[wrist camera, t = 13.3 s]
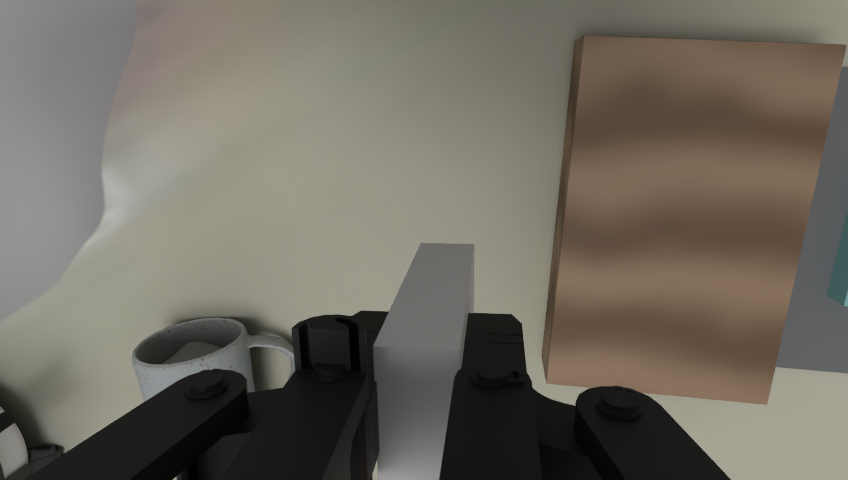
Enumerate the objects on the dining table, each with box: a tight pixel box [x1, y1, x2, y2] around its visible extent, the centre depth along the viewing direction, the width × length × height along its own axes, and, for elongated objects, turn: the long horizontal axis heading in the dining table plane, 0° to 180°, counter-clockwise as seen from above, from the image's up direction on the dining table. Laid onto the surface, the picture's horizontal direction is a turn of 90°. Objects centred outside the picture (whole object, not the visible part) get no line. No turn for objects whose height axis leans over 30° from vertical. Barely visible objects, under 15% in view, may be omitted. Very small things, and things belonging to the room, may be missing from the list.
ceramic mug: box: [132, 318, 295, 402], centre depth 42 cm, size 11×8×8 cm
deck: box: [542, 36, 846, 405], centre depth 37 cm, size 22×14×4 cm, turn 178°
